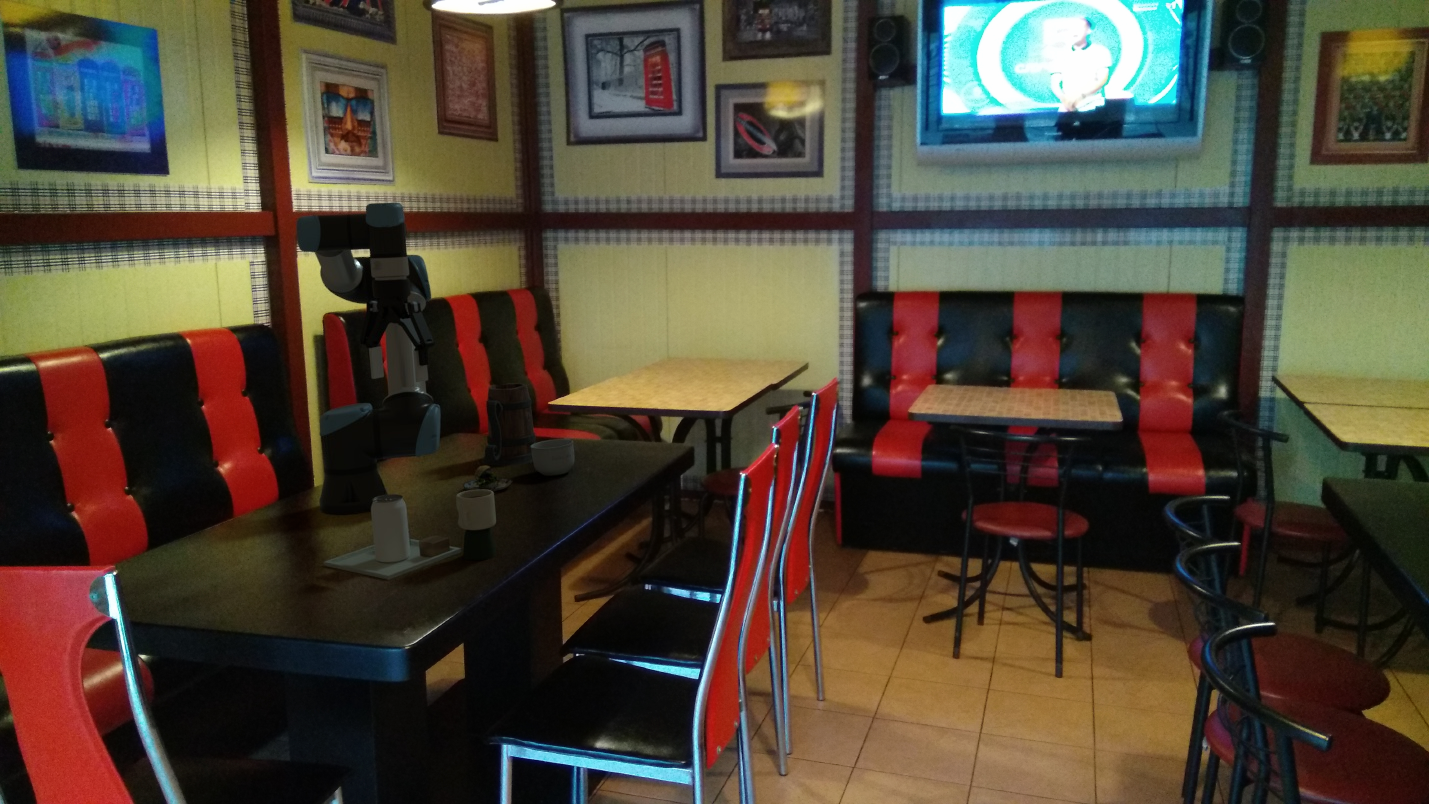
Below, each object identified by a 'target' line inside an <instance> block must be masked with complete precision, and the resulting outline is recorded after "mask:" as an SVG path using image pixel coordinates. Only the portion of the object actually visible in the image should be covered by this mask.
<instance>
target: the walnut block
mask: <svg viewBox="0 0 1429 804" xmlns="http://www.w3.org/2000/svg"><path fill="white" fill-rule="evenodd" d="M450 546H451V545H450V538H449V537H445V536H439V535H432V536H429V537H426V538H423V539H420V540H419V549H420V556H423V557H428V558H432V557H435V556H438V555H440V554H443V553H446V552H448V551H450Z"/></svg>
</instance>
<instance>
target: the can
mask: <svg viewBox="0 0 1429 804" xmlns="http://www.w3.org/2000/svg"><path fill="white" fill-rule="evenodd" d="M403 498H404V496H403V495H402V494H395V493H392V494H388V495H382V496H378V497H375V498H373V499H372V501H373V503H372V506H371V511H370V513H371V524H372V525H371V527H372V533H373V534H372V535H373V545H374V547H375V556H376V560H378V562H381V563H396V562H400V561H404V560H406V559H408V557H409V556H410V543H409V532H408V531H409V523H408V522H409V521H408V512H407V504H406V502H405V500H404V499H403Z"/></svg>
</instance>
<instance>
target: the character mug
mask: <svg viewBox="0 0 1429 804" xmlns="http://www.w3.org/2000/svg"><path fill="white" fill-rule="evenodd" d="M494 492H495V491H491V490H484V489H481V490H469V491H464V492H463V491H461V492H459V493H457V494H456V495H455V500H456V501H455V503H456V504H455V505H456V509H457V513H458V517H457V518H458V519H457V524H458V526H459V527H460V528H461V529H463V530H464V531H465V532H464V534H463V536H464V537H463V559H464V560H466V561H481V560H490V559H492V558H494V557H496V556H497V549H496V545H495V540H494V536H493V531H492V529H491V527H494V526H495V525H496V523H497V515H496V505H495V504H496V502H495V493H494Z"/></svg>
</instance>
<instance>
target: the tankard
mask: <svg viewBox="0 0 1429 804" xmlns="http://www.w3.org/2000/svg"><path fill="white" fill-rule="evenodd" d="M485 402H486V414H487V434H488V435H487V437H486V438H487V439H486V440H487V444H488V445H487V444H486V446H485V448H484V455H483V456H484V457H483V458H482V459H481V463H482V464H484V463H485V465H488V464H489V465H488V466H499V467H500V466H502V467H503V466H504V467H505V466H506V467H507V466H518V465H519V466H520V465H525V464H530V463H533V458H532V450H531V445H533V444H535V443H536V440H537V439H536V438H537V437H536V436H537V435H536V433H535V430H534V422H533V420H534V419H533V411H532V398H531V397H530V392H529V388H528V385H527V384H525V383H518V382H517V383H504V384H492V385H489V386H488V391H487V400H486V401H485Z"/></svg>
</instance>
